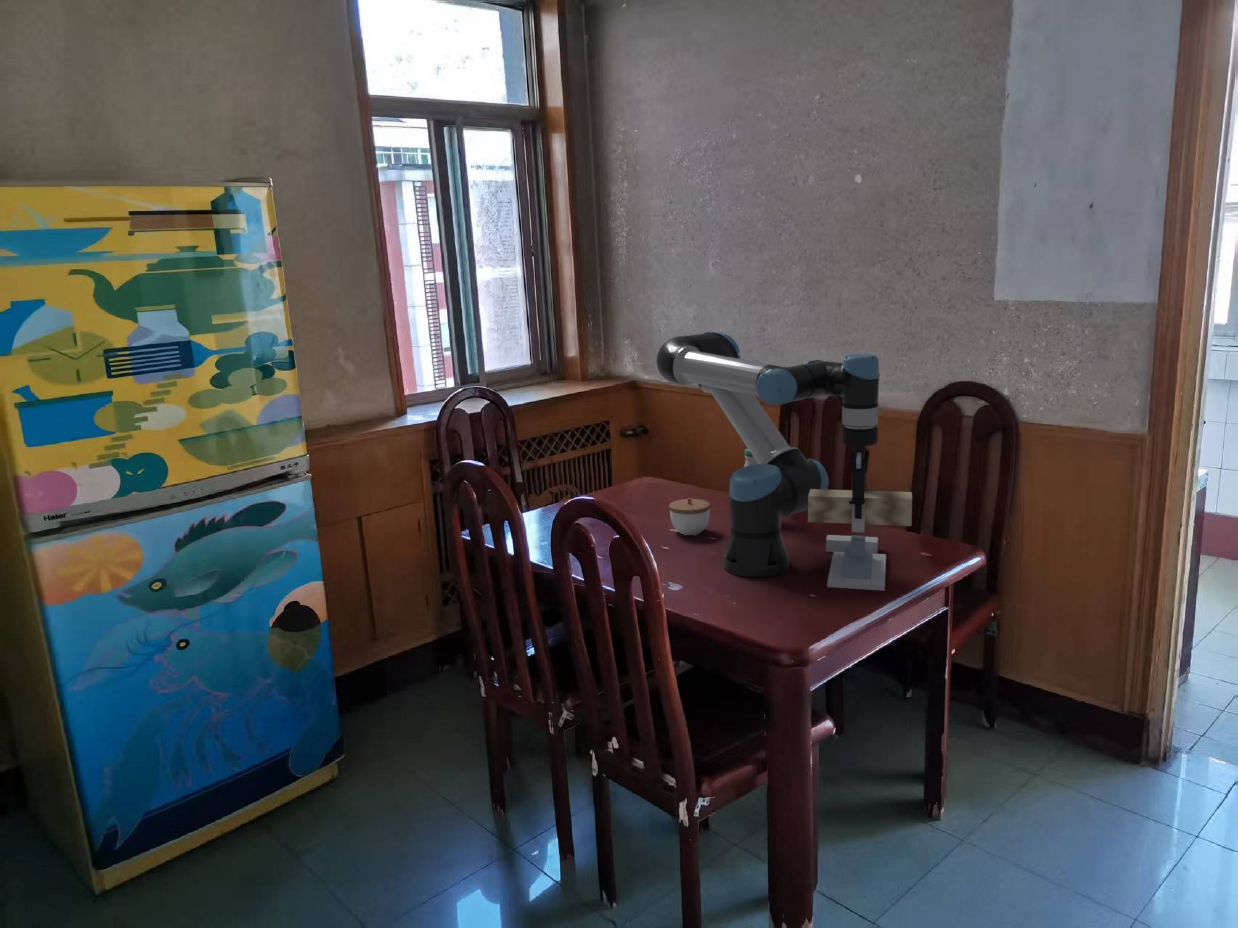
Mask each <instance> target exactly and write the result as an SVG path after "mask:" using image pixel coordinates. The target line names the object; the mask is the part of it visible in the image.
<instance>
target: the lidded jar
mask: <svg viewBox="0 0 1238 928" xmlns="http://www.w3.org/2000/svg"><path fill="white" fill-rule="evenodd" d="M668 506H669V514H670V521H671V524H672V526H673V528H674V529H675V530H676V531H677V532H678V533H679V532H680V533H681V534H684V535H683V536H686V535H694V536H698V535H697V534H699V533H701V532H702V533H703V531H704V530H705V529H706V528H707V527H708V526H707V525H708V524H709V520H710V515H711V514H710V513H711V510H710V508H711V503H710V502H709V501H707V500H705V499H699V498H691V497H688V498H684V499H683V498H682V499H677V500H674V501H671V502H670V503H669V505H668ZM680 533H679V534H680ZM702 533H701V534H702ZM681 534H680V535H681ZM699 535H700V534H699Z"/></svg>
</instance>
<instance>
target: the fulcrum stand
mask: <svg viewBox="0 0 1238 928" xmlns="http://www.w3.org/2000/svg"><path fill="white" fill-rule="evenodd" d="M851 536H852V537H851V545H849V544H846V548H845V552H832V553H833V554H832V558H831V562H830V566H829V567H830V568H829V572H828V577H827V581H826V582H827V584H826V588H837V589H838V588H839V589H840V588H841V589H852V590H853V589H856V590H870V591H871V590H872V591H884V592H885V587H886V566H887V565H886V564H887V554H885V553H877V554H873V546H869V545H865V537H866V535H855V534H854V535H851Z"/></svg>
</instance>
